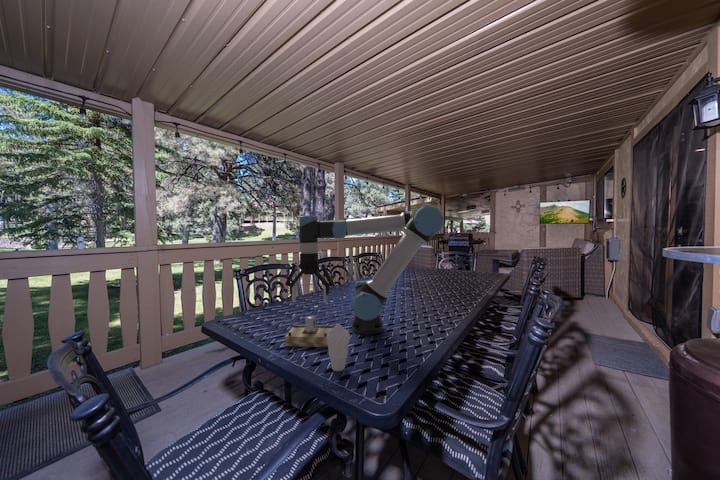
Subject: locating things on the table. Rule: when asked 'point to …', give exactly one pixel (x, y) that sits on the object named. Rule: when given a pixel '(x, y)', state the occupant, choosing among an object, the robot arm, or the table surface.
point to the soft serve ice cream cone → (338, 346)
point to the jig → (307, 336)
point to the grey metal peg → (310, 324)
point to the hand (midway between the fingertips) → (309, 302)
